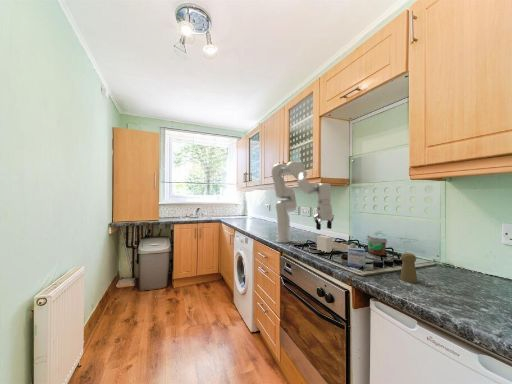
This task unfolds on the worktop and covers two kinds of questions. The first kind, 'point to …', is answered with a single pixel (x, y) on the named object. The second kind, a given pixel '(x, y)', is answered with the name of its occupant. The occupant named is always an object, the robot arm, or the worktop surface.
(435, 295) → the worktop surface
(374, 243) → the food container
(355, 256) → the medicine box
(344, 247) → the price rail
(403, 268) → the cork
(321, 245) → the cream carton
